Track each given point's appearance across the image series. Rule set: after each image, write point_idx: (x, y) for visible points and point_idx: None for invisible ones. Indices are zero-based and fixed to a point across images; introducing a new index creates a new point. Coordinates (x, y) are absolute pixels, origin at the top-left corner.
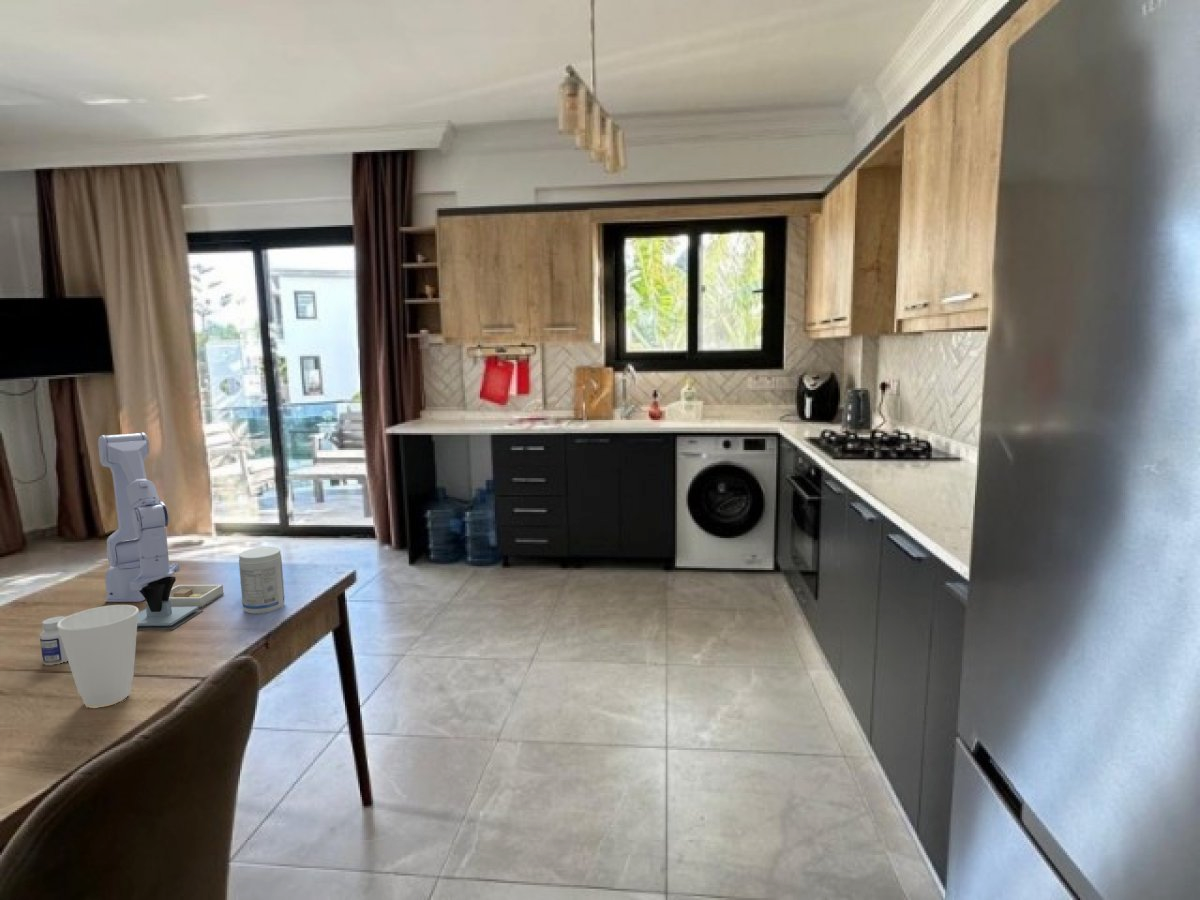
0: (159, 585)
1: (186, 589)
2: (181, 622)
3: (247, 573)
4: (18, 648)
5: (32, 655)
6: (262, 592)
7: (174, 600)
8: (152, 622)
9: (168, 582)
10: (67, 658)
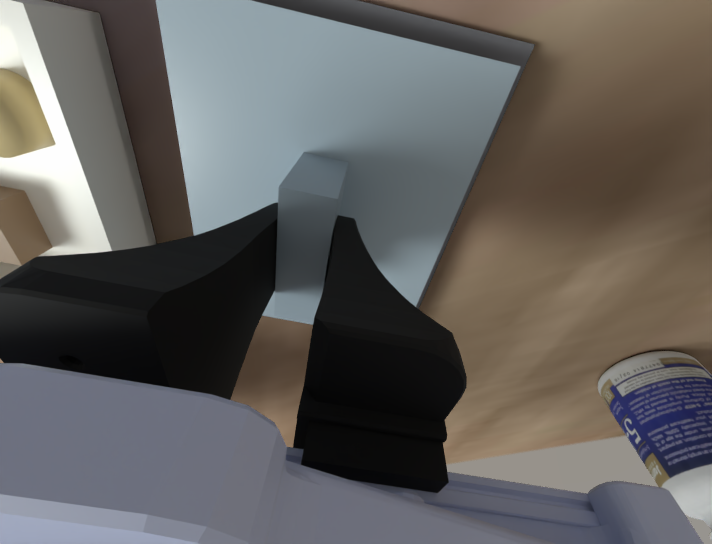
0: (406, 369)
1: None
2: (413, 29)
3: None
4: (464, 453)
5: (539, 427)
6: None
7: (113, 219)
8: (446, 208)
9: (182, 310)
10: (701, 365)
